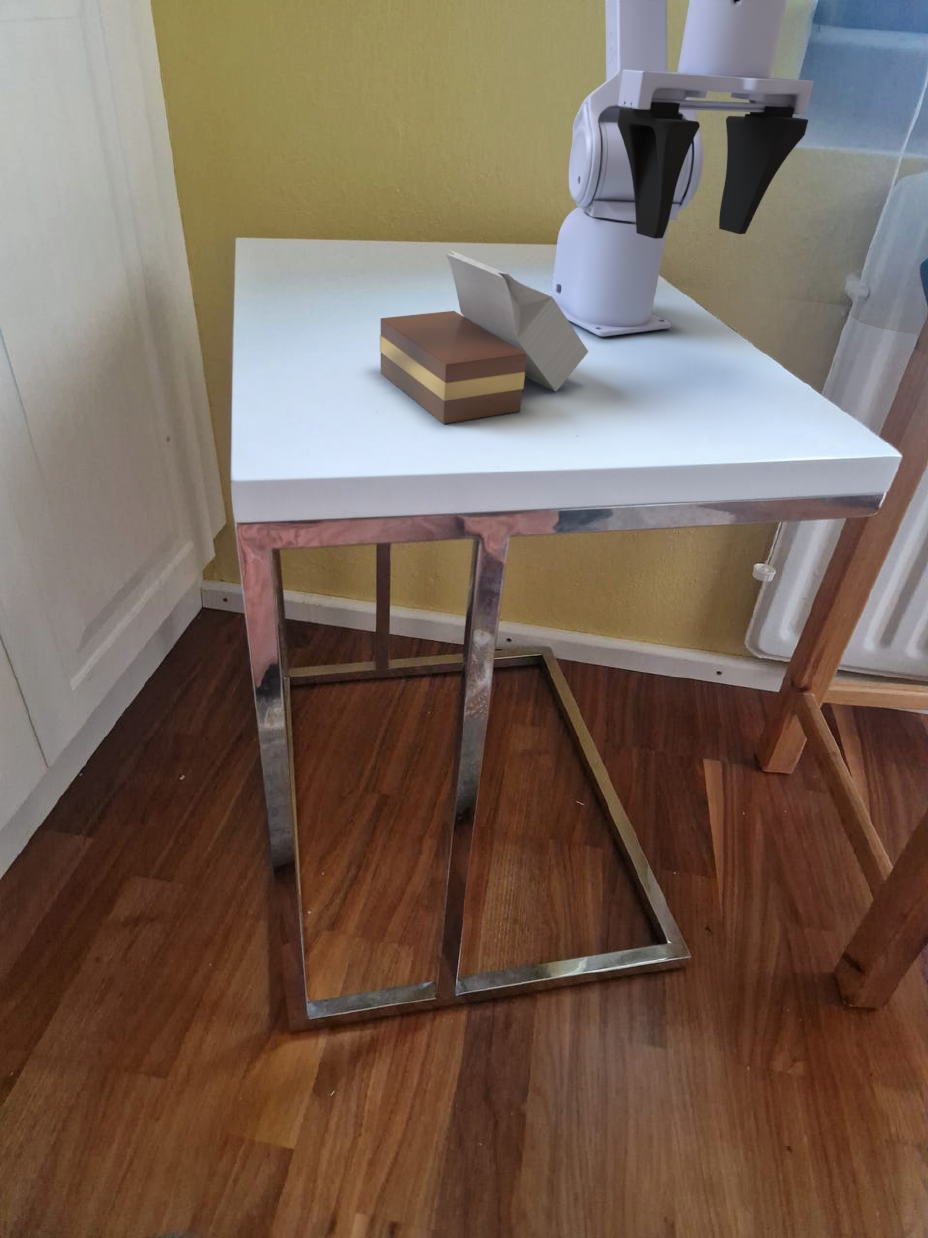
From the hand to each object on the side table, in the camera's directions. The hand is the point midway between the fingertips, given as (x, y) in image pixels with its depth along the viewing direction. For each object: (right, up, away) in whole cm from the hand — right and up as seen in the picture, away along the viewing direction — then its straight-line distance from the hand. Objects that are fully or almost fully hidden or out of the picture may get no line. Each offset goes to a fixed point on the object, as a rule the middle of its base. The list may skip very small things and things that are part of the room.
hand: (691, 233), depth 57 cm
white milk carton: (-10, -7, +5) cm, 13 cm away
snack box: (-17, -11, +2) cm, 20 cm away
